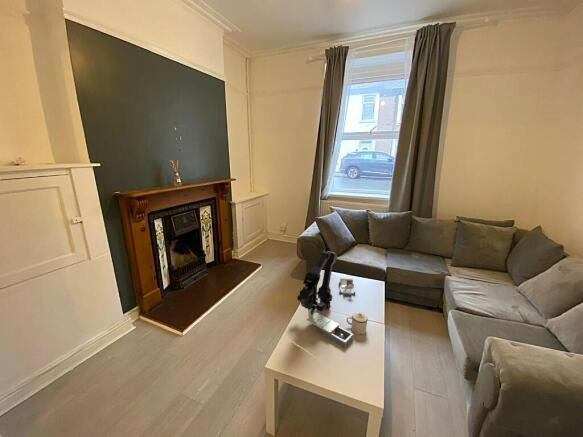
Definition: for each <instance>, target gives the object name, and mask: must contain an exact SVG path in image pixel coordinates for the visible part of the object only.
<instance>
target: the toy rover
mask: <svg viewBox="0 0 583 437" xmlns="http://www.w3.org/2000/svg"><path fill="white" fill-rule="evenodd" d="M354 284H355V283H354V279H353V278H347V277H346V278H345V277H340V278H339V282H338V287H339V291H338V294H339V295H342V294H343V295H350V296H352V295H353V296H354V297H355V296H356V291H354V287H355V286H354Z"/></svg>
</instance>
